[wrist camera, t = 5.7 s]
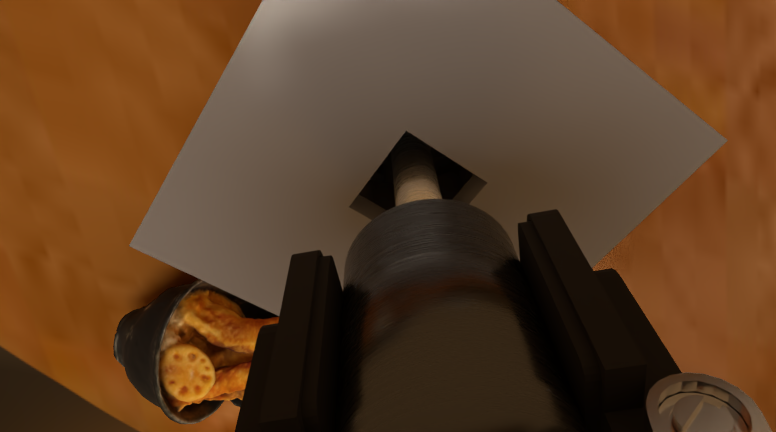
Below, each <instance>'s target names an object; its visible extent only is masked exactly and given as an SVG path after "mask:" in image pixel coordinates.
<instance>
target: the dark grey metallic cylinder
mask: <svg viewBox="0 0 776 432" xmlns="http://www.w3.org/2000/svg"><path fill="white" fill-rule="evenodd" d="M457 165H459V164H458V163H456V162H454V161H453V160H451V159H450V158H448V157H447V156H445V155H444V154H442V153H440V152H439V151H437V150H436V149H434V148H433V147H431V146H429V145H428V144H426V143H425V142H423V141H422V140H420V139H419V138H417V137H415V136H414V135H412V134H411V133H409V132H408V131H405V133H404V134H403V135H402V137H401V138H400V139H399V141H398V142H397V143H396V145H395V146H394V147H393V149H392V150H391V151H390V153H389V154H388V155H387V157H386V158H385V159H384V161H383V162H382V163H381V165H380V166H379V168H378V169H377V170H376V172H375V173H374V174H373V176H372V177H371V178H370V180H374V181H378V182H383V183H391V184H394V194H395V205H396V207H393V208H391V209H389V210H387V211H385V212H383V213H382V214H380V215H379V216H377V217H376V218H374V219H373V220H372V221H370V222H369V223H368V224H367V225H366V226H365V227H364V228H363V229H362V230H361V231H360V232H359V234H358V235H357V236H356V238H355V239H354V241H353V242H352V244H351V247H350V249H349V251H348V254H347V257H346V260H345V268H344V283H343V300H342V318H341V335H340V353H339V370H338V388H337V406H336V423H335V432H588V430H587V428H586V425H585V423H584V420H583V418H582V415H581V413H580V410H579V408H578V405H577V403H576V400H575V398H574V395H573V393H572V390H571V388H570V385H569V383H568V380H567V378H566V375H565V373H564V370H563V368H562V365H561V363H560V360H559V358H558V355H557V353H556V350H555V348H554V345H553V343H552V340H551V338H550V335H549V333H548V330H547V328H546V325H545V323H544V320H543V318H542V315H541V313H540V311H539V308H538V306H537V303H536V301H535V298H534V296H533V293H532V291H531V288H530V286H529V283H528V281H527V278H526V276H525V273H524V271H523V268H522V266H521V263H520V261H519V258H518V256H517V253H516V251H515V248H514V246H513V243H512V241H511V239H510V237H509V235H508V233H507V232H506V231H505V229H504V228H503V227H502V225H501V224H500V223H499V222H497V221H496V220H495V219H494V218H493V217H492V216H490V215H489V214H488V213H486V212H485V211H483V210H481V209H479V208H477V207H475V206H472V205H469V204H467V203H464V202H459V201H455V200H448V199H442V196H441V192H440V187H439V183H438V179H437V176H439V175H442V174H444V173H446V172H448V171H450V170H451V169H453V168H454V167H456V166H457Z"/></svg>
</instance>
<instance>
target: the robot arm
mask: <svg viewBox="0 0 776 432" xmlns="http://www.w3.org/2000/svg"><path fill="white" fill-rule="evenodd" d="M518 240H519V253H520V263H521V266H522V268H523V271H524V273H525V276H526V278H527V281H528V283H529V286H530V288H531V291H532V293H533V296H534V298H535V301H536V303H537V306H538V308H539V311H540V313H541V315H542V318H543V320H544V323H545V325H546V328H547V330H548V333H549V335H550V338H551V340H552V343H553V345H554V348H555V350H556V353H557V355H558V358H559V360H560V363H561V365H562V368H563V370H564V373H565V375H566V378H567V380H568V383H569V385H570V388H571V390H572V393H573V395H574V398H575V400H576V403H577V405H578V408H579V410H580V413H581V415H582V418H583V420H584V423H585V425H586V428H587V430H588V432H772V431H771V429H770V427H769V425H768V423H767V421H766V419H765V418H764V416H763V414H762V412H761V411H760V409H759V408H758V407H757V405H756V404H755V403H754V401H753V400H752V399H751V398H750V397H749V396H748V395H746V394H745V393H744V392H743V391H742V390H740V389H739V388H738V387H736V386H734V385H732V384H730V383H728V382H726V381H724V380H722V379H720V378H716V377H713V376H709V375H706V374H699V373H682V372H681V371H680V369H679V368H678V366H677V365H676V363H675V361H674V360H673V358H672V357H671V355H670V354H669V352H668V350H667V349H666V347H665V346H664V344H663V343H662V341H661V339H660V338H659V336H658V335H657V333H656V332H655V330H654V328H653V327H652V325H651V324H650V322H649V321H648V319H647V317H646V316H645V314H644V313H643V311H642V310H641V308H640V306H639V305H638V303H637V302H636V300H635V299H634V297H633V295H632V294H631V292H630V291H629V289H628V288H627V286H626V284H625V283H624V281H623V280H622V278H621V277H620V275H619V274H618V273H617V271H616V270H614V269H612V268H611V269H605V270H599V271H593V269H592V268H591V266H590V264H589V263H588V261H587V259H586V257H585V256H584V254H583V252H582V250H581V249H580V247H579V245H578V244H577V242H576V240H575V238H574V237H573V235H572V233H571V231H570V230H569V228H568V226H567V224H566V223H565V221H564V219H563V218H562V216H561V214H560V212H559V211H558V210H557V209H554V210H548V211H542V212H536V213H530V214H528V215H527V222H522V223H518ZM342 300H343V290H342V286H341V283H340V280H339V276H338V273H337V269H336V266H335V262H334V259H333V257H332V256H331V255H329V256H323V254H322V252H321V251H320V250H315V251H309V252H303V253H298V254H293V255H292V256H291V260H290V265H289V270H288V275H287V280H286V285H285V290H284V295H283V300H282V305H281V310H280V315H279V321H278V323H275V324H269V325H263V326H262V327H261V328H260V330H259V333H258V336H257V340H256V344H255V349H254V353H253V357H252V361H251V366H250V370H249V374H248V378H247V382H246V387H245V391H244V395H243V399H242V403H241V408H240V412H239V416H238V420H237V425H236V429H235V432H335V423H336V406H337V388H338V370H339V353H340V335H341V318H342Z"/></svg>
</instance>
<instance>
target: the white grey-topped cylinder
mask: <svg viewBox="0 0 776 432" xmlns="http://www.w3.org/2000/svg"><path fill="white" fill-rule="evenodd" d="M405 131H408V132H409V133H411V134H412V135H414V136H415V137H417V138H419V139H420V140H422V141H423V142H425V143H426V144H428V145H429V146H431V147H433V148H434V149H436V150H437V151H439V152H440V153H442V154H444V155H445V156H447V157H448V158H450V159H451V160H453V161H454V162H456V163H458V164H459V165H457V166H456V167H454V168H453V169H451V170H450V171H448V172H446V173H444V174H442V175H439V176H437V179H438V183H439V187H440V192H441V196H442V199H448V200H455V201H459V202H464V203H467V204H469V205H472V206H475V207H477V208H479V209H481V210H483V211H485V212H486V213H488V214H489V215H490V216H492V217H493V218H494V219H495V220H496V221H497V222H499V223H500V224H501V225H502V227H503V228H504V229H505V231H506V232H507V233H508V235H509V237H510V239H511V241H512V243H513V246H514V248H515V251H516V253H517V256H518V258H519V261H520V253H519V240H518V223H522V222H527V215H528V214H530V213H536V212H542V211H548V210H554V209H557V210H558V211H559V212H560V214H561V216H562V218H563V219H564V221H565V223H566V224H567V226H568V228H569V230H570V231H571V233H572V235H573V237H574V238H575V240H576V242H577V244H578V245H579V247H580V249H581V250H582V252H583V254H584V256H585V257H586V259H587V261H588V263H589V264H590V266H591V268H593V267H594V266H595V265H596V264H597V263H598V262H599V261H600V260H601V259H602V258H603V257H604V256H605V255H607V254H608V253H609V252H610V251H611V250H612V249H613V248H614V247H615V246H616V245H617V244H618V243H619V242H620V241H621V240H622V239H624V238H625V237H626V236H627V235H628V234H629V233H630V232H631V231H632V230H633V229H634V228H635V227H636V226H637V225H638V224H639V223H641V222H642V221H643V220H644V219H645V218H646V217H647V216H648V215H649V214H650V213H651V212H652V211H653V210H654V209H655V208H656V207H658V206H659V205H660V204H661V203H662V202H663V201H664V200H665V199H666V198H667V197H668V196H669V195H670V194H671V193H672V192H673V191H675V190H676V189H677V188H678V187H679V186H680V185H681V184H682V183H683V182H684V181H685V180H686V179H687V178H688V177H689V176H690V175H692V174H693V173H694V172H695V171H696V170H697V169H698V168H699V167H700V166H701V165H702V164H703V163H704V162H705V161H706V160H707V159H709V158H710V157H711V156H712V155H713V154H714V153H715V152H716V151H717V150H718V149H719V148H720V147H721V146H722V145H723V144H725V143H726V142H727V141H728V140H727V139H725V138H724V137H723V136H722V135H720V134H719V133H718V132H717V131H716V130H714V129H713V128H712V127H711V126H709V125H708V124H707V123H706V122H705V121H703V120H702V119H701V118H700V117H698V116H697V115H696V114H695V113H694V112H692V111H691V110H690V109H689V108H687V107H686V106H685V105H684V104H683V103H681V102H680V101H679V100H678V99H676V98H675V97H674V96H673V95H672V94H670V93H669V92H668V91H667V90H666V89H664V88H663V87H662V86H661V85H659V84H658V83H657V82H656V81H655V80H653V79H652V78H651V77H650V76H648V75H647V74H646V73H645V72H644V71H642V70H641V69H640V68H639V67H637V66H636V65H635V64H634V63H633V62H631V61H630V60H629V59H628V58H626V57H625V56H624V55H623V54H622V53H620V52H619V51H618V50H617V49H615V48H614V47H613V46H612V45H611V44H609V43H608V42H607V41H606V40H604V39H603V38H602V37H601V36H600V35H598V34H597V33H596V32H595V31H593V30H592V29H591V28H590V27H589V26H587V25H586V24H585V23H584V22H582V21H581V20H580V19H579V18H578V17H576V16H575V15H574V14H573V13H571V12H570V11H569V10H568V9H567V8H565V7H564V6H563V5H562V4H560V3H559V2H558V1H557V0H263V1H262V2H261V4H260V6H259V8H258V10H257V12H256V13H255V15H254V17H253V19H252V21H251V23H250V24H249V26H248V28H247V30H246V32H245V34H244V36H243V37H242V39H241V41H240V43H239V45H238V47H237V48H236V50H235V52H234V54H233V56H232V58H231V59H230V61H229V63H228V65H227V67H226V69H225V70H224V72H223V74H222V76H221V78H220V80H219V81H218V83H217V85H216V87H215V89H214V91H213V92H212V94H211V96H210V98H209V100H208V102H207V104H206V105H205V107H204V109H203V111H202V113H201V115H200V116H199V118H198V120H197V122H196V124H195V126H194V127H193V129H192V131H191V133H190V135H189V137H188V138H187V140H186V142H185V144H184V146H183V148H182V149H181V151H180V153H179V155H178V157H177V159H176V160H175V162H174V164H173V166H172V168H171V170H170V171H169V173H168V175H167V177H166V179H165V181H164V183H163V184H162V186H161V188H160V190H159V192H158V194H157V195H156V197H155V199H154V201H153V203H152V205H151V206H150V208H149V210H148V212H147V214H146V216H145V217H144V219H143V221H142V223H141V225H140V227H139V228H138V230H137V232H136V234H135V236H134V238H133V239H132V241H131V243H130V245H129V246H130V247H132V248H134V249H137V250H139V251H141V252H143V253H145V254H147V255H149V256H152V257H154V258H156V259H158V260H160V261H162V262H164V263H166V264H169V265H171V266H173V267H175V268H177V269H179V270H181V271H184V272H186V273H188V274H190V275H192V276H194V277H196V278H199V279H201V280H203V281H205V282H207V283H209V284H211V285H213V286H216V287H218V288H220V289H222V290H224V291H226V292H228V293H231V294H233V295H235V296H237V297H239V298H241V299H243V300H245V301H248V302H250V303H252V304H254V305H256V306H258V307H260V308H263V309H265V310H267V311H269V312H271V313H273V314H275V315H278V316H279V315H280V310H281V305H282V300H283V295H284V290H285V285H286V280H287V275H288V270H289V265H290V260H291V256H292V255H293V254H298V253H303V252H309V251H315V250H320V251H321V252H322V254H323V256H329V255H331V256H332V257H333V259H334V262H335V266H336V269H337V273H338V276H339V280H340V283H341V286H342V290H343V283H344V268H345V260H346V257H347V254H348V251H349V249H350V247H351V244H352V242H353V241H354V239H355V238H356V236H357V235H358V234H359V232H360V231H361V230H362V229H363V228H364V227H365V226H366V225H367V224H368V223H369V222H370V221H372V220H373V219H374V218H376V217H377V216H379V215H380V214H382V213H383V212H385V211H387V210H389V209H391V208H393V207H396V205H395V194H394V184H391V183H383V182H378V181H374V180H370V178H371V177H372V176H373V174H374V173H375V172H376V170H377V169H378V168H379V166H380V165H381V163H382V162H383V161H384V159H385V158H386V157H387V155H388V154H389V153H390V151H391V150H392V149H393V147H394V146H395V145H396V143H397V142H398V141H399V139H400V138H401V137H402V135H403V134H404V133H405Z"/></svg>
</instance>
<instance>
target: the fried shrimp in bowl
mask: <svg viewBox="0 0 776 432" xmlns="http://www.w3.org/2000/svg"><path fill="white" fill-rule="evenodd" d="M278 321H279V316H278V315H275V314H273V313H271V312H269V311H267V310H265V309H263V308H260V307H258V306H256V305H254V304H252V303H250V302H248V301H245V300H243V299H241V298H239V297H237V296H235V295H233V294H231V293H228V292H226V291H224V290H222V289H220V288H218V287H216V286H213V285H211V284H209V283H207V282H205V281H203V280H201V279H199V280H196V281H195V282H193V283H192V284H187V285H181V286H178V287H174V288H170V289H168V290H166V291H165V292H164V293H162V294H161V295H160V296H159V297H158V298H157V299H156V300H154V301H152V302H151V303H150V304H149V305H147V306H146V307H143V308H141V309H136V310H133V311H131V312H130V313H128V314H126V315H125V316H124V317H123V318H122V319H121V321H120V322H119V325H118V328H117V330H116V331H117V333H116V334H115V339H114V346H113V347H114V356H115V358H116V360H117V361H118V362H119V363H121V364H122V365H123V366H124V367H125V371H126V374H127V376H128V379H129V380H130V382H131V383H132V384H133V385H134V387H135V388H136V389H137V391H138V392H139V393H140V394H141V395H142V396H143V397H144V398H146V399H147V400H149V401H150V402H152V403H153V404H155V405H156V406H158V407H160V408H161V409H162V411H163V412H164V413H165V415H166V416H167V417H168V418H169V419H171V420H173V421H175V422H177V423H180V424H195V423H198V422H200V421H202V420H204V419H205V418H207V417H209V416H210V415H211V414H213V413H214V412H215V411H216V410H217V409H218V408H219V407H220V406H221V404H222V403H223V402H224V400H226V401H229V400H230V401H231V402H232V403H233V404H234V405H236V406H239V407H241V403H242V399H243V395H244V391H245V387H246V382H247V378H248V374H249V370H250V366H251V361H252V357H253V353H254V349H255V344H256V340H257V336H258V333H259V330H260V328H261V327H262V326H263V325H269V324H275V323H278Z"/></svg>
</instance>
